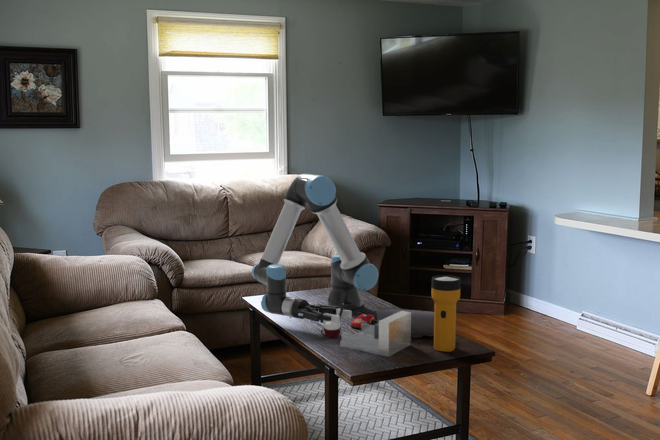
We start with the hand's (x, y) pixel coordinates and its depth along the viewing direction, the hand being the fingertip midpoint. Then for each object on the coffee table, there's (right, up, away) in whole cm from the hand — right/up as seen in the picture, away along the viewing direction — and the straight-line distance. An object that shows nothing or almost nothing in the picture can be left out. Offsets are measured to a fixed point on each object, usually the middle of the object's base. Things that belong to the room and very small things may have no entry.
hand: (345, 317), depth 252 cm
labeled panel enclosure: (+11, -9, -6) cm, 16 cm away
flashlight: (+35, -10, -10) cm, 38 cm away
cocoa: (-4, -8, +3) cm, 10 cm away
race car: (+7, -6, +20) cm, 22 cm away
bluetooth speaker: (+24, -8, +5) cm, 26 cm away
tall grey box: (+12, -7, -8) cm, 16 cm away
